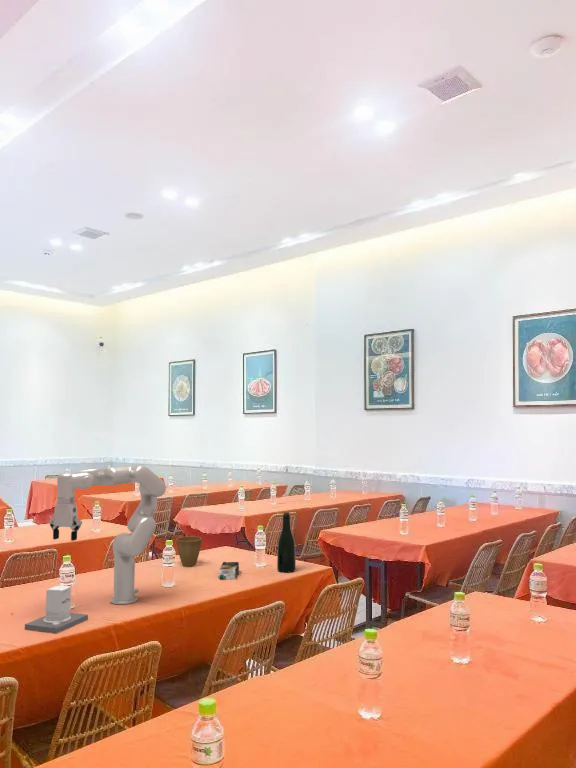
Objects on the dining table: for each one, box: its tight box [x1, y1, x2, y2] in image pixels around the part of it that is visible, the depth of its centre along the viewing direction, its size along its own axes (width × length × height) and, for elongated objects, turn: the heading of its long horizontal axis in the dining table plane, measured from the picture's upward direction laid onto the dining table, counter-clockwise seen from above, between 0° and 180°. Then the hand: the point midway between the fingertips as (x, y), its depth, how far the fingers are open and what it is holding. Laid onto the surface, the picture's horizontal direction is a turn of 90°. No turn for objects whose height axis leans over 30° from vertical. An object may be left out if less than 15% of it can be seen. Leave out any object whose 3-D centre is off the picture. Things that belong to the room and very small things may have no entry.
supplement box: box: [45, 585, 72, 621], centre depth 274 cm, size 7×7×13 cm
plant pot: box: [176, 535, 202, 568], centre depth 386 cm, size 15×15×16 cm
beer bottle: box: [276, 512, 297, 573], centre depth 374 cm, size 10×10×33 cm
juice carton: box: [217, 561, 240, 581], centre depth 361 cm, size 20×10×6 cm, turn 179°
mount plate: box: [24, 612, 89, 634], centre depth 273 cm, size 20×16×3 cm
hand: (64, 539), depth 291 cm, fingers open, 9 cm apart
